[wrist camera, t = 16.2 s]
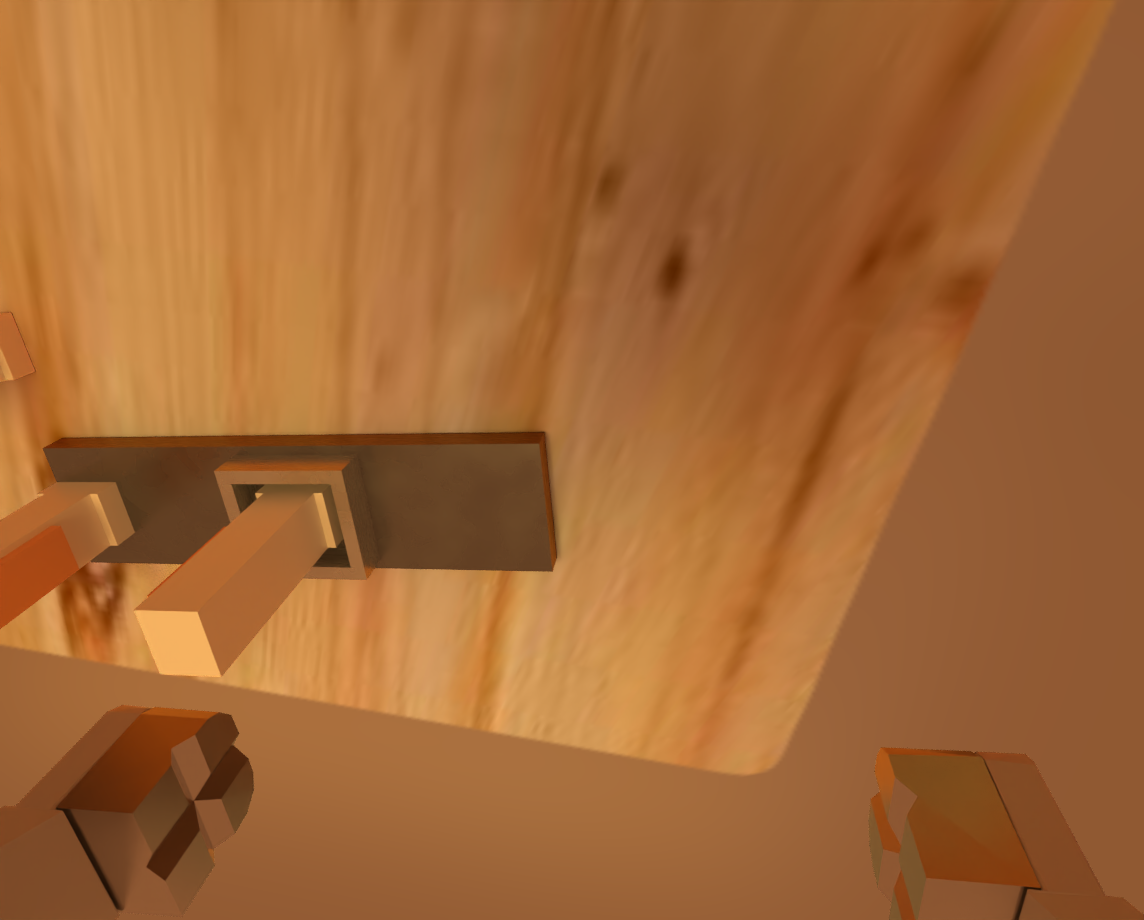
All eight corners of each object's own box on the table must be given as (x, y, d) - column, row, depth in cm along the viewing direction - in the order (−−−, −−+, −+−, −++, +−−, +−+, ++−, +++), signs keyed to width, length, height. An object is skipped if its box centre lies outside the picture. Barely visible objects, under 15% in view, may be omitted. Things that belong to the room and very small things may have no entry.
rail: (62, 438, 44) (14, 462, 41) (544, 432, 39) (531, 460, 36) (107, 549, 48) (67, 580, 45) (556, 557, 43) (546, 592, 40)
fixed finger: (57, 482, 44) (-147, 602, 33) (116, 482, 43) (-72, 604, 33) (77, 531, 45) (-111, 662, 35) (136, 532, 45) (-38, 665, 34)
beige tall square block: (267, 480, 42) (121, 609, 31) (334, 480, 41) (207, 612, 30) (282, 533, 43) (148, 673, 32) (347, 533, 42) (231, 677, 32)
